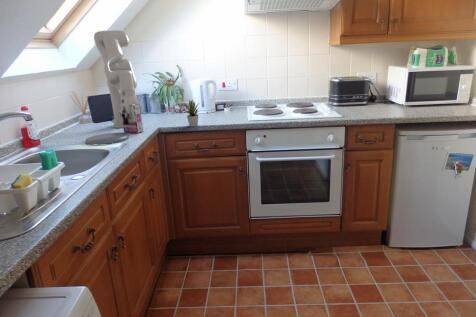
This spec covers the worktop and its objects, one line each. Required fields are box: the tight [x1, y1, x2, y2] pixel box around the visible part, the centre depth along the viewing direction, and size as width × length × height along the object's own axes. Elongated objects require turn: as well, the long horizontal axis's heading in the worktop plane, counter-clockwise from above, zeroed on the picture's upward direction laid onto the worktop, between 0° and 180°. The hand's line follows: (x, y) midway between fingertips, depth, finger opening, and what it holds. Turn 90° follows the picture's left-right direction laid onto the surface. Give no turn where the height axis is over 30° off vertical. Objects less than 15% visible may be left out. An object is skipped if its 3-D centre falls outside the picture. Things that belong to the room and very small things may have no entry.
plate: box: [85, 132, 130, 145], centre depth 192 cm, size 22×22×2 cm
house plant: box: [182, 99, 200, 127], centre depth 216 cm, size 14×14×16 cm
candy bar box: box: [120, 103, 144, 134], centre depth 206 cm, size 11×5×16 cm, turn 62°
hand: (132, 122), depth 206 cm, fingers open, 9 cm apart
